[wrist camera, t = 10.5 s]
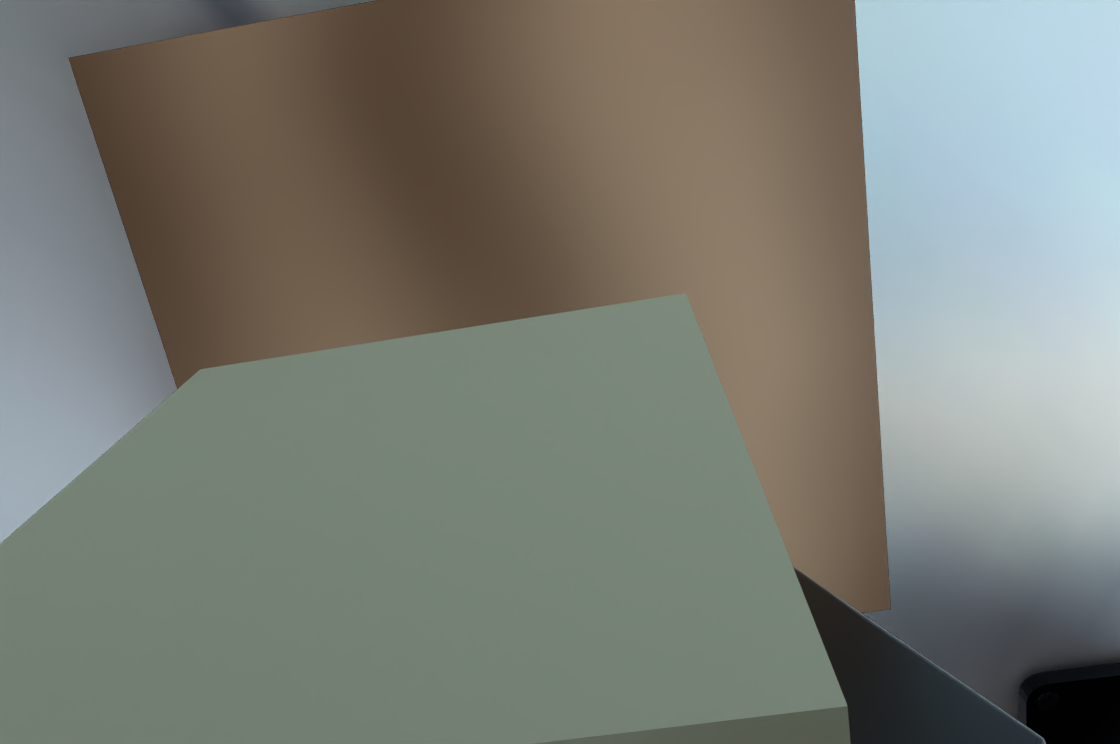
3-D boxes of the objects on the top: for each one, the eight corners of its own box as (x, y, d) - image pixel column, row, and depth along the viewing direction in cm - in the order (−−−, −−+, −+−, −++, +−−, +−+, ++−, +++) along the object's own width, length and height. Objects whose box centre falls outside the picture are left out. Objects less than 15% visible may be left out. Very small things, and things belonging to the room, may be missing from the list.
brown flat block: (791, -62, 17) (849, -89, 14) (836, 507, 21) (890, 608, 18) (174, 53, 18) (69, 58, 14) (328, 577, 22) (276, 688, 18)
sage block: (685, 292, 9) (847, 706, 4) (739, 705, 11) (906, 1433, 5) (200, 369, 10) (-350, 848, 4) (322, 756, 11) (59, 1480, 6)
